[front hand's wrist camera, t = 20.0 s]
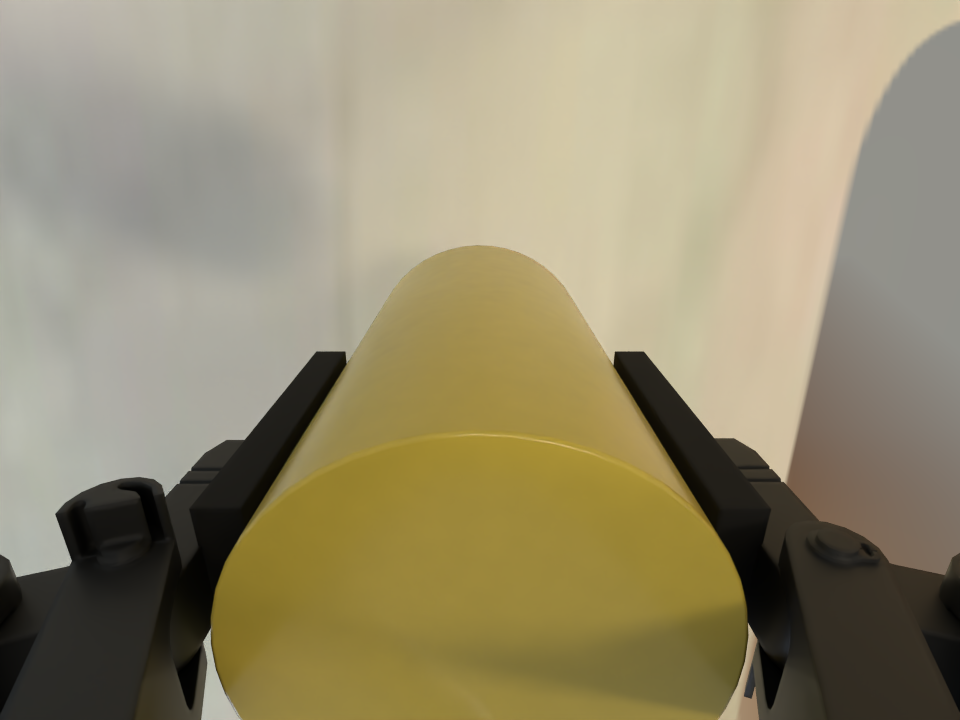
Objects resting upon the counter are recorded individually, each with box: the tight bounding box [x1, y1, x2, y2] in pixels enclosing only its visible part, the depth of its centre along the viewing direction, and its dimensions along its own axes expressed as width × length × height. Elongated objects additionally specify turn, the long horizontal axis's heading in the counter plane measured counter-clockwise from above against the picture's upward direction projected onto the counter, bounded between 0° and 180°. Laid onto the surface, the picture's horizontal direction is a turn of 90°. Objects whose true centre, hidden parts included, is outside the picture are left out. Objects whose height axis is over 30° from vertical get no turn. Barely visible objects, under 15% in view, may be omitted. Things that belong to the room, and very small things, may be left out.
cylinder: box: [211, 245, 748, 720], centre depth 13 cm, size 7×7×12 cm
